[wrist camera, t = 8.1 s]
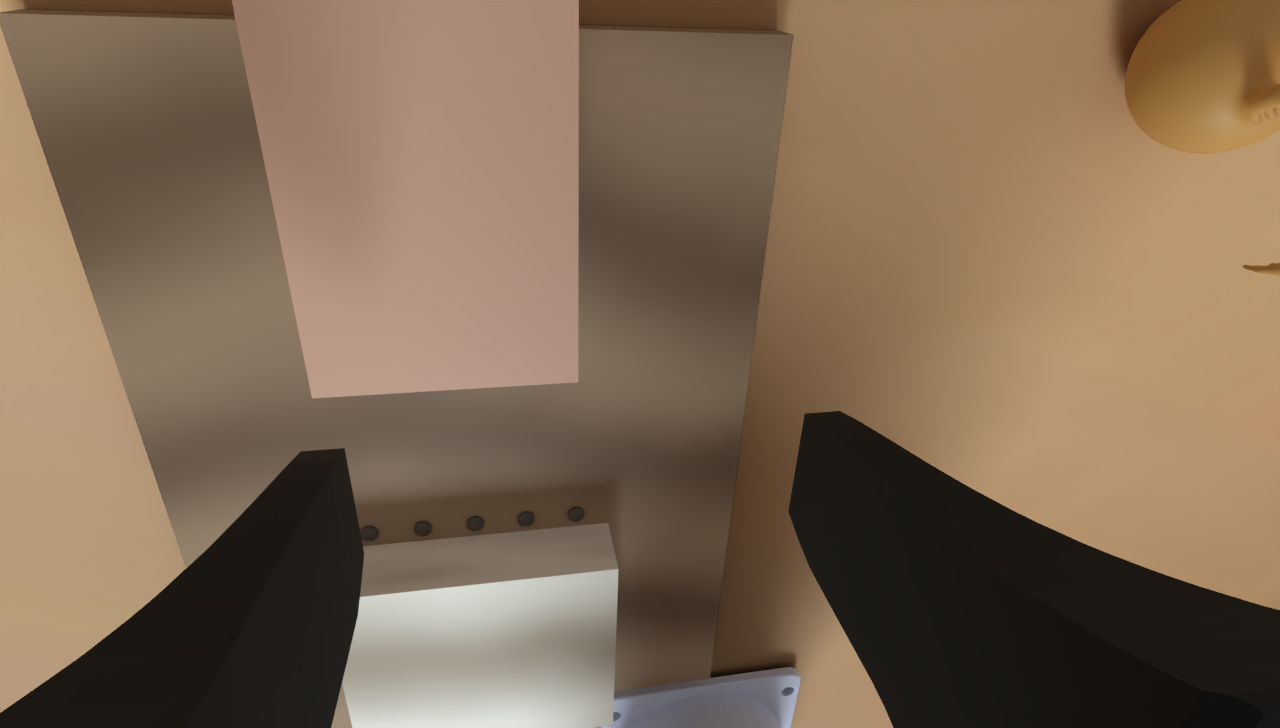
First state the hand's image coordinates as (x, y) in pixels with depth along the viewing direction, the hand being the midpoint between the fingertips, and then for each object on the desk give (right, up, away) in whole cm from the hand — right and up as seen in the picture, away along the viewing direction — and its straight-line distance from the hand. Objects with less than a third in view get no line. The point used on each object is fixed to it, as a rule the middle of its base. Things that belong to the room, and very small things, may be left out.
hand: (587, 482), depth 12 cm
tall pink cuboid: (-4, +7, +5) cm, 9 cm away
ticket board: (-4, 0, +10) cm, 11 cm away
